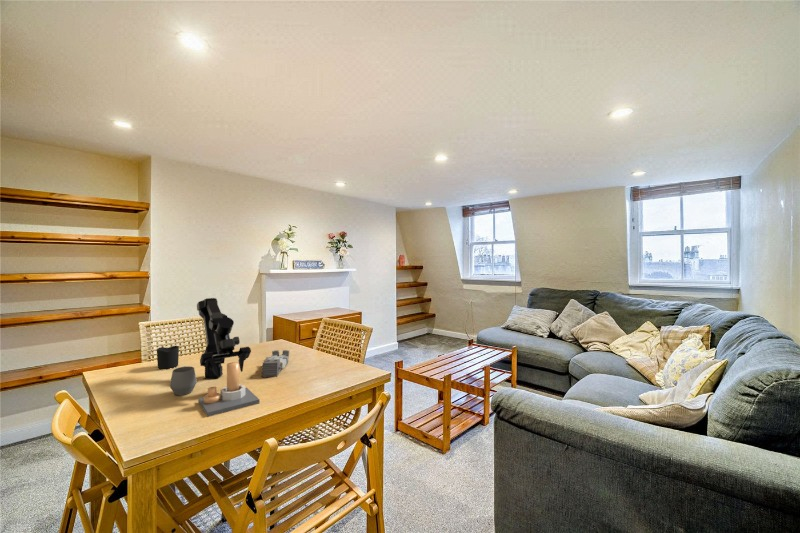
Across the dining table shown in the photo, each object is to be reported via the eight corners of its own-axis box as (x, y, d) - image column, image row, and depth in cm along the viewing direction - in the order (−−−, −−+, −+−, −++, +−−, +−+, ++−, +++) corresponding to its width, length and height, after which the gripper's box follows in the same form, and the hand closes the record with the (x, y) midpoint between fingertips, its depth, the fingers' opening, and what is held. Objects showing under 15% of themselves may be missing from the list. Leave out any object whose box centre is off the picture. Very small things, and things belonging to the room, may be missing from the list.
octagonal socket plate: (198, 402, 134) (198, 385, 134) (246, 390, 146) (246, 375, 146) (207, 416, 122) (207, 398, 122) (259, 403, 134) (259, 386, 134)
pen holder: (167, 363, 181) (167, 345, 181) (183, 364, 180) (183, 346, 180) (152, 369, 172) (152, 349, 172) (168, 370, 171) (168, 350, 171)
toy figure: (291, 348, 194) (282, 362, 164) (291, 360, 194) (282, 376, 164) (270, 348, 192) (257, 363, 163) (270, 360, 192) (257, 377, 163)
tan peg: (224, 396, 136) (224, 364, 136) (234, 393, 140) (234, 361, 140) (232, 398, 134) (231, 366, 134) (241, 395, 138) (241, 363, 138)
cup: (172, 390, 146) (172, 367, 146) (198, 387, 149) (198, 364, 149) (167, 398, 137) (167, 374, 137) (194, 395, 141) (194, 371, 140)
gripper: (201, 333, 138) (207, 368, 130) (249, 328, 150) (258, 359, 142) (197, 349, 144) (203, 382, 136) (244, 342, 156) (252, 372, 148)
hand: (230, 373), depth 140 cm, fingers open, 9 cm apart
